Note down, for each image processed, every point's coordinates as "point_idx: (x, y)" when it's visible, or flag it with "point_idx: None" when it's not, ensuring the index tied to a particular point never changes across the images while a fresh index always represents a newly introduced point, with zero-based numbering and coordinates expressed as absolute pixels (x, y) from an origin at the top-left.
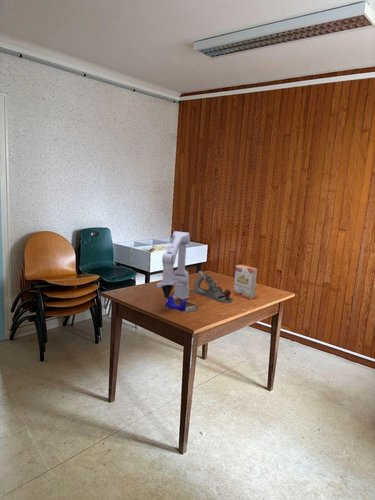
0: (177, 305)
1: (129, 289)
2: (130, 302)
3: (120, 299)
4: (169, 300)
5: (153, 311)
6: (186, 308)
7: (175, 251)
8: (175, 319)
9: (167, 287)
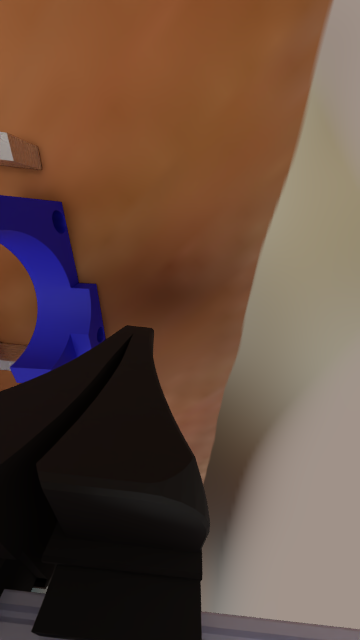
0: (36, 289)
1: None
2: (200, 454)
3: (202, 482)
4: (64, 351)
5: (223, 333)
6: (12, 147)
7: None
8: (261, 74)
9: (164, 517)
